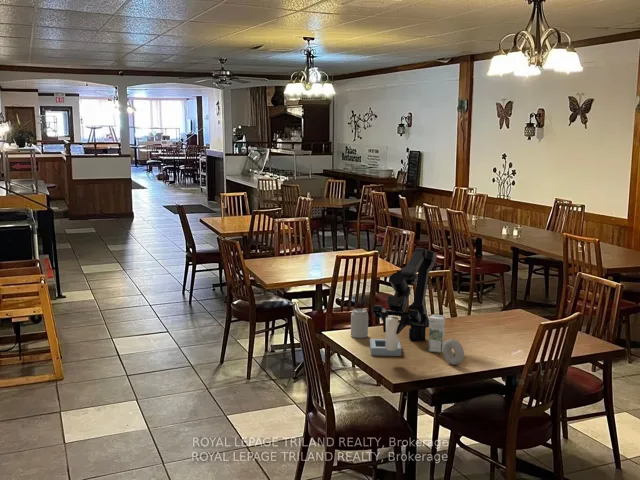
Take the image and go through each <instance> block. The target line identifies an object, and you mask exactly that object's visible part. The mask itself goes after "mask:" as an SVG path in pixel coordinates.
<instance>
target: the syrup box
mask: <svg viewBox="0 0 640 480" xmlns="http://www.w3.org/2000/svg"><path fill="white" fill-rule="evenodd" d="M429 316H430V317H429V327H428V352H429V353H439V354H440V353H441V354H443V346H444V343H445V332H446V331H445V329H446V315H442V314H430V315H429Z"/></svg>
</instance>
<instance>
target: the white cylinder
mask: <svg viewBox="0 0 640 480" xmlns="http://www.w3.org/2000/svg"><path fill="white" fill-rule="evenodd" d="M398 325H399V318H398V316H388V317H386V332H385V333H384V337H385V338H384V339H385V349H386V350H390V351H394V350H397V349H398V339H399V334H398V335H397V334H396V332H397V328H398Z"/></svg>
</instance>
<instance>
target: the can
mask: <svg viewBox="0 0 640 480" xmlns="http://www.w3.org/2000/svg"><path fill="white" fill-rule="evenodd" d="M368 335H369V313H368V310H367V309H365V308H353V309H352V312H351V313H350V336H351V337H352V338H354V339H357V340H358V339H359V340H361V339H362V340H363V339H365V338H367V337H368Z"/></svg>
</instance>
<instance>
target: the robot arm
mask: <svg viewBox="0 0 640 480" xmlns="http://www.w3.org/2000/svg"><path fill="white" fill-rule="evenodd" d="M436 261H437V254H436V253H435V251H433V250H428V249H426V248H421V247H416V248H414V250H413V254H412V256H411V257H410V258H409V261H408V263H407V264H406V266H404V267H401V269H397V270H396V271H395V272H393V273H392V274H391V275H390V277H389V282H390V284H391V286H392V289H393V290H394V294H393V296H392V295H387V297H386V305H387V307H388V309H387V308H384V305H379V304H374V305H373V306H372V307H371V313H372V314H373V316H374V317H375V318H377V319H378V318H379V319H381V320H382V327H383V328H382V329H383V330H382V331H383V333H384V334H386V317H390V316H391V317H400V321H399V322H398V328H397V332H396V334H397V335H398V336H399V334H400V333H401V332H402V331H403V330H404V329H405V328H406V327H408V339H409V340H410V342H426V341H427V340H426V331H427V329H426V328H429V319H430V317H429V316H428V314H427V313H428V311H427V308H426V305H425V302H426V301H425V300H426V294H427V288H428V281H429V275H430V272H431V270H433V268H434V267H435V263H436ZM410 286H415V290H414V295H413V297H414V298H413V301H412V303H411V304H409V305H408V301H409V299H410V295H411V293H412V291H411V288H410ZM407 307H408V309H407V311H406V308H407Z"/></svg>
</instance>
